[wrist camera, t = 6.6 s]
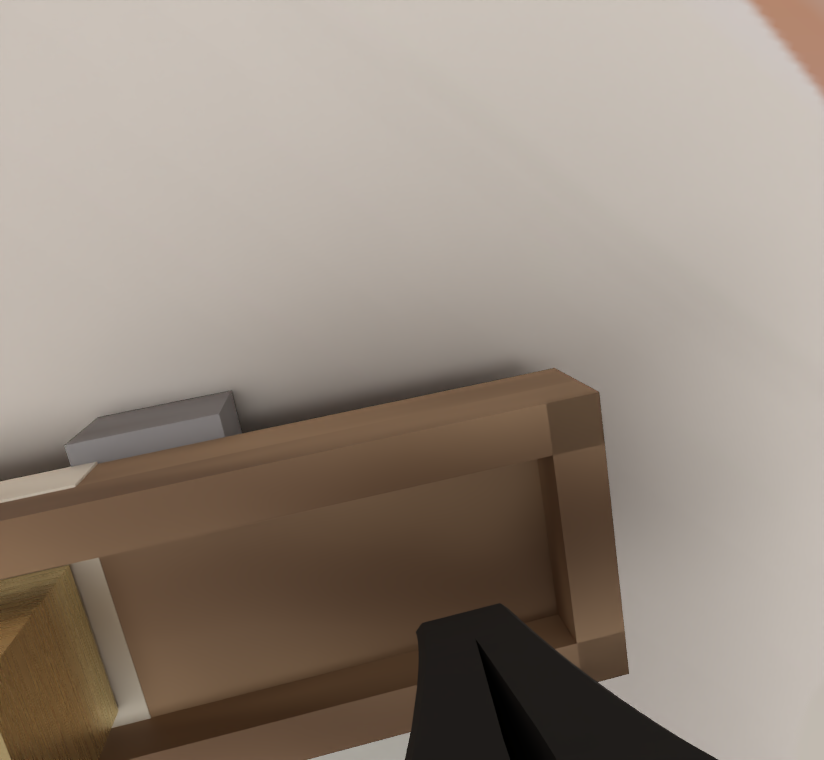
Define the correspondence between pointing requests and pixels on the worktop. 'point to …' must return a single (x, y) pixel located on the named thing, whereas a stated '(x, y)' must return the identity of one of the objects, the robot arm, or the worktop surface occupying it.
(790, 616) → the worktop surface
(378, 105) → the worktop surface
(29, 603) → the tan wooden block
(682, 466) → the worktop surface
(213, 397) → the beam
